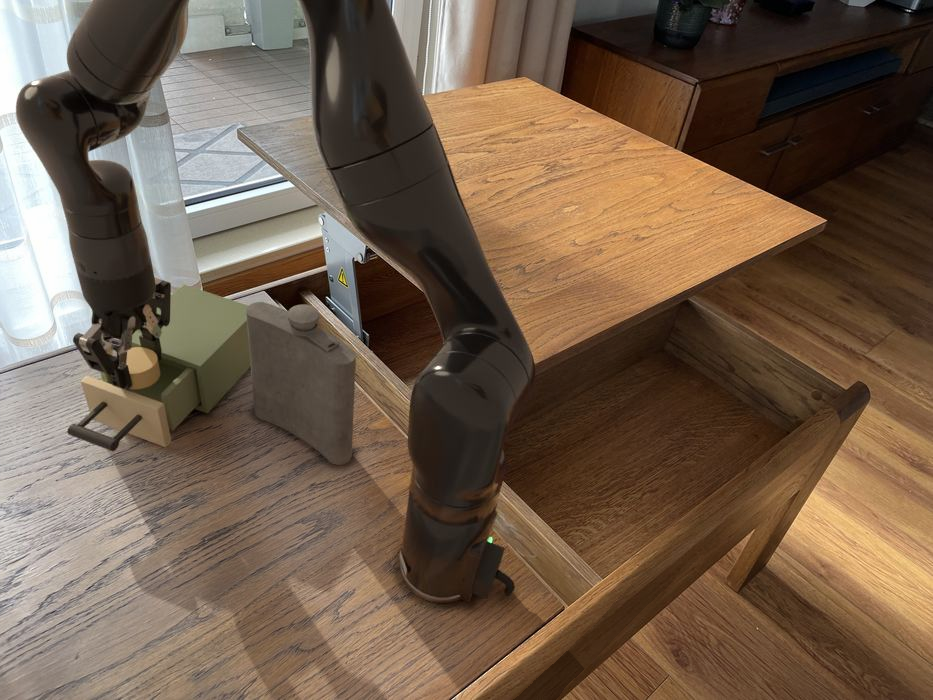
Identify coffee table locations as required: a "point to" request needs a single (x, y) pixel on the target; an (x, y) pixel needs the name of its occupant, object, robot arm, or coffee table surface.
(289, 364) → the hip flask
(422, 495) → the robot arm
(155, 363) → the tan short cylinder
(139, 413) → the drawer
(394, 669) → the coffee table surface
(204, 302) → the cabinet
